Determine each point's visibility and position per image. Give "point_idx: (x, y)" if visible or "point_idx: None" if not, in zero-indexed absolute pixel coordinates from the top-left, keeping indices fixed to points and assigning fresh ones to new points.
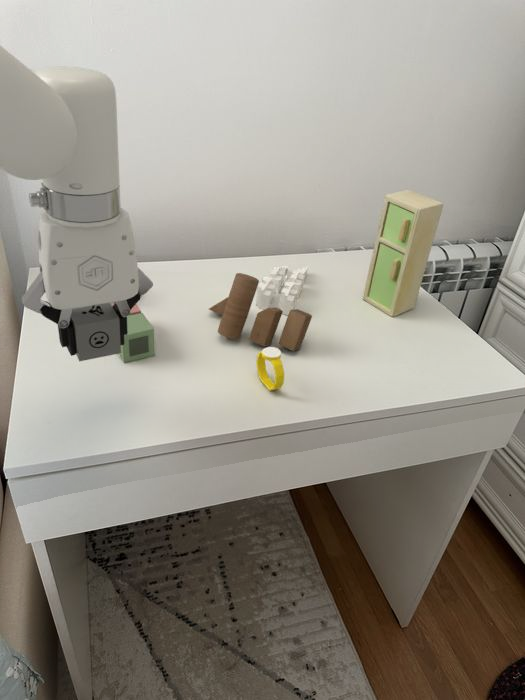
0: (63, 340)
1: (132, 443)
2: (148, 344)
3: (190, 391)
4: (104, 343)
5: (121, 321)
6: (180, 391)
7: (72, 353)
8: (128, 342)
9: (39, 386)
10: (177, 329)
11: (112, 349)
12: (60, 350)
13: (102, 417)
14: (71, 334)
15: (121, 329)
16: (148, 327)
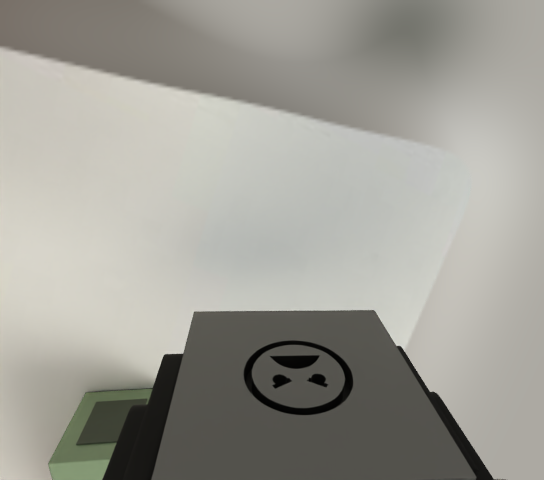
0: (446, 417)
1: (227, 112)
2: (87, 420)
3: (25, 238)
4: (267, 354)
5: (139, 470)
6: (53, 248)
7: (399, 350)
8: None
9: None
10: (3, 464)
11: (230, 327)
12: None
13: (267, 230)
14: None
15: (156, 420)
16: (63, 472)
